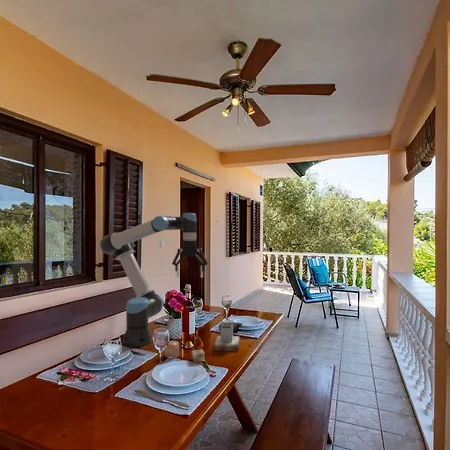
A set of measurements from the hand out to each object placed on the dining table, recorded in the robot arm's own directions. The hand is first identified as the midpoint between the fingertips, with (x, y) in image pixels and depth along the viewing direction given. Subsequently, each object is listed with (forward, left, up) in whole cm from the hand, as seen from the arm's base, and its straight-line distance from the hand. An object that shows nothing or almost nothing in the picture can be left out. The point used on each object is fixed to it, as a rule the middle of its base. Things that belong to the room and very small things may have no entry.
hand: (190, 277), depth 177 cm
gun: (+22, +11, -35) cm, 43 cm away
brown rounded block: (-4, -24, -35) cm, 42 cm away
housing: (+22, -9, -32) cm, 40 cm away
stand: (+22, -9, -35) cm, 42 cm away
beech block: (+10, -28, -35) cm, 46 cm away
